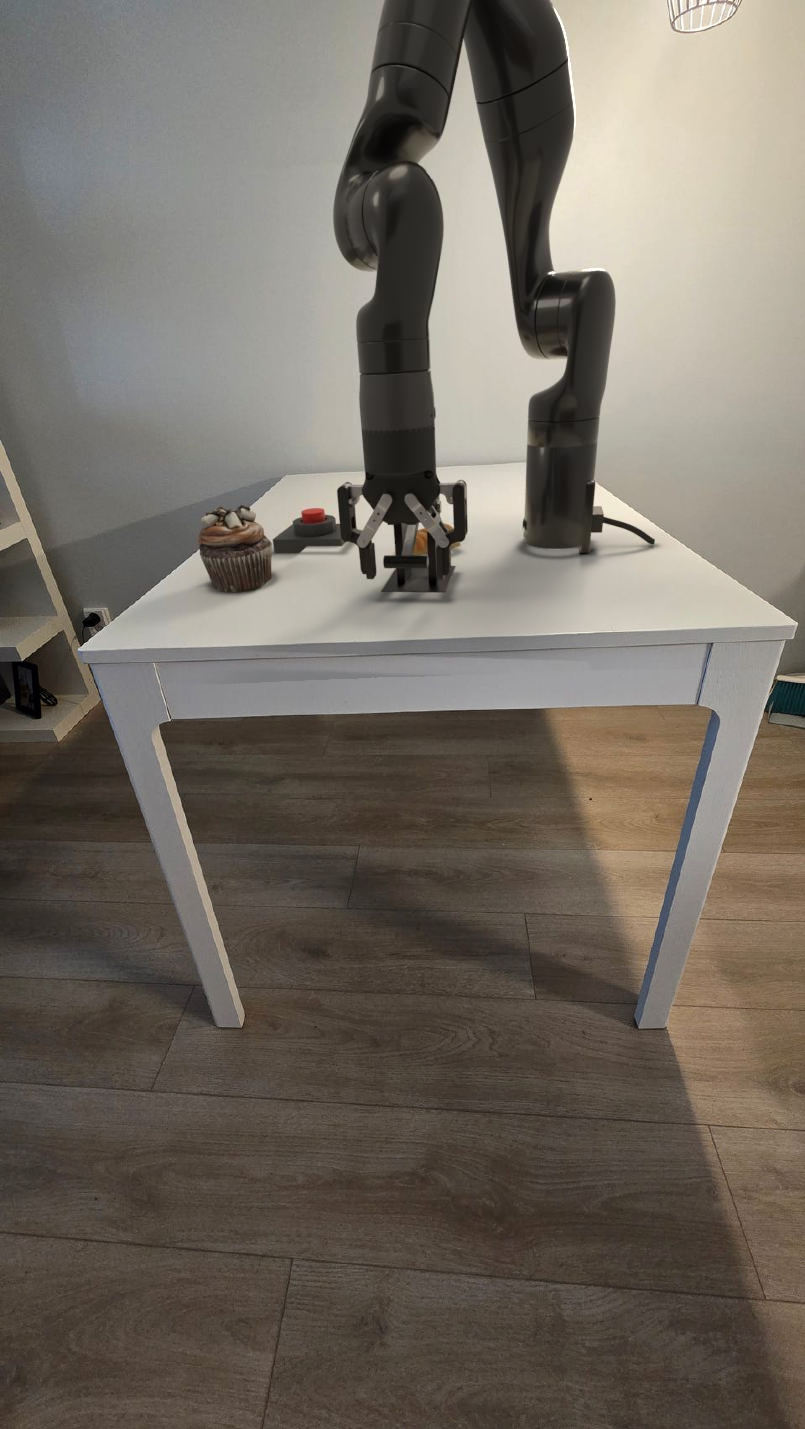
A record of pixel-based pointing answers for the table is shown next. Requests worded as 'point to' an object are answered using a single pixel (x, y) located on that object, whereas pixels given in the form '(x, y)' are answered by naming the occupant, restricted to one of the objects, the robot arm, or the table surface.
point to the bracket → (417, 576)
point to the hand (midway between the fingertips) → (406, 577)
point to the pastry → (422, 541)
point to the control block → (308, 535)
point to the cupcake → (235, 550)
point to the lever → (407, 553)
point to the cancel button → (313, 515)
